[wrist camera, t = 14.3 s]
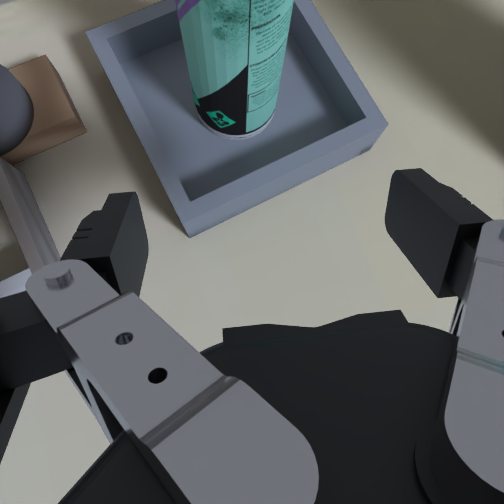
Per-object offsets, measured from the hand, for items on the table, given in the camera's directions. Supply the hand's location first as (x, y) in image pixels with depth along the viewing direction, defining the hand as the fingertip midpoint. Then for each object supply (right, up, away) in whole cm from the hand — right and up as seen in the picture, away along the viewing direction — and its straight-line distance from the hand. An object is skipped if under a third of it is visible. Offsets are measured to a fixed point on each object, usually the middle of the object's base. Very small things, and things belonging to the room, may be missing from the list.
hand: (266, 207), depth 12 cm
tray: (-2, +9, +15) cm, 18 cm away
